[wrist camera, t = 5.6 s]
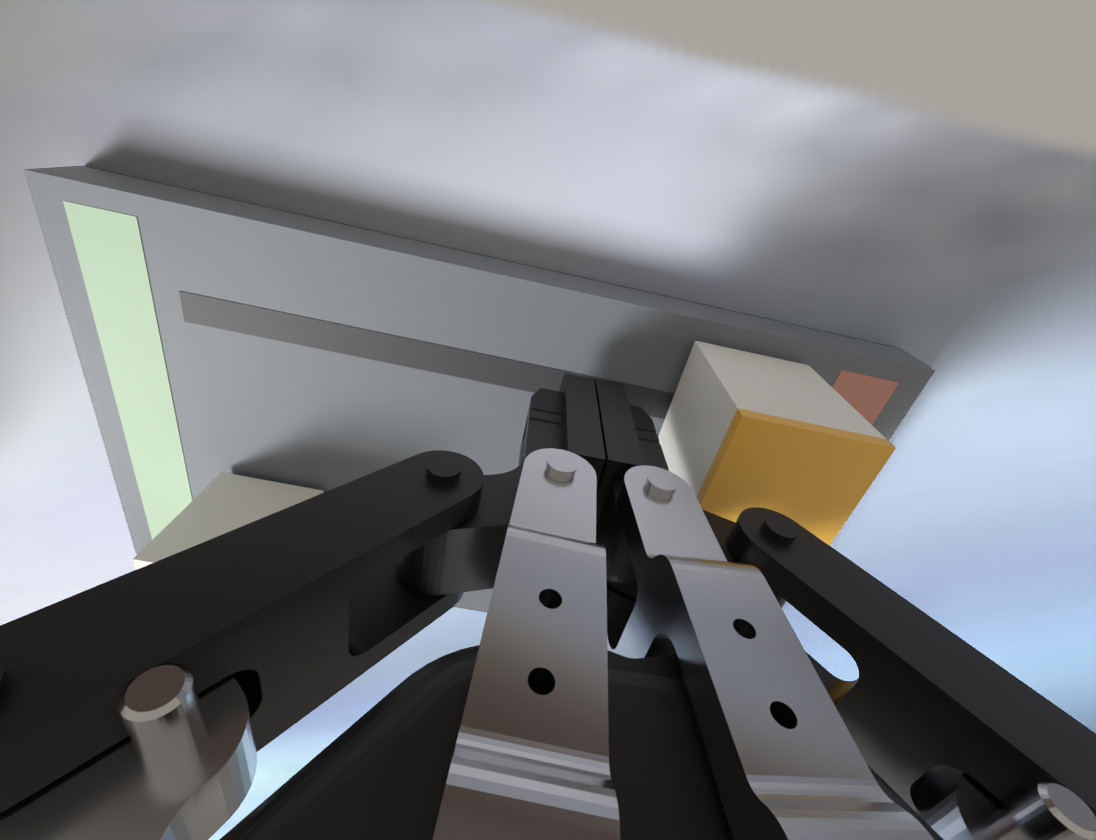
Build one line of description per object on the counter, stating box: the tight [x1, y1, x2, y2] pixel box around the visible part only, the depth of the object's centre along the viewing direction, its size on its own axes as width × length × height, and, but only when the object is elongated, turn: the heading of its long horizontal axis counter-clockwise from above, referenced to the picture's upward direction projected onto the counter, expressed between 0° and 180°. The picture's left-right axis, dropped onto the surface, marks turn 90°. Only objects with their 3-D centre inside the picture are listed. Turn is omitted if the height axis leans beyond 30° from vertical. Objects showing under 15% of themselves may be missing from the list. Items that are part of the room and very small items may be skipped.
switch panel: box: [24, 166, 935, 612], centre depth 15 cm, size 22×12×2 cm, turn 78°
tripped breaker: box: [658, 341, 895, 545], centre depth 12 cm, size 3×4×4 cm
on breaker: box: [133, 472, 324, 570], centre depth 14 cm, size 3×4×4 cm
